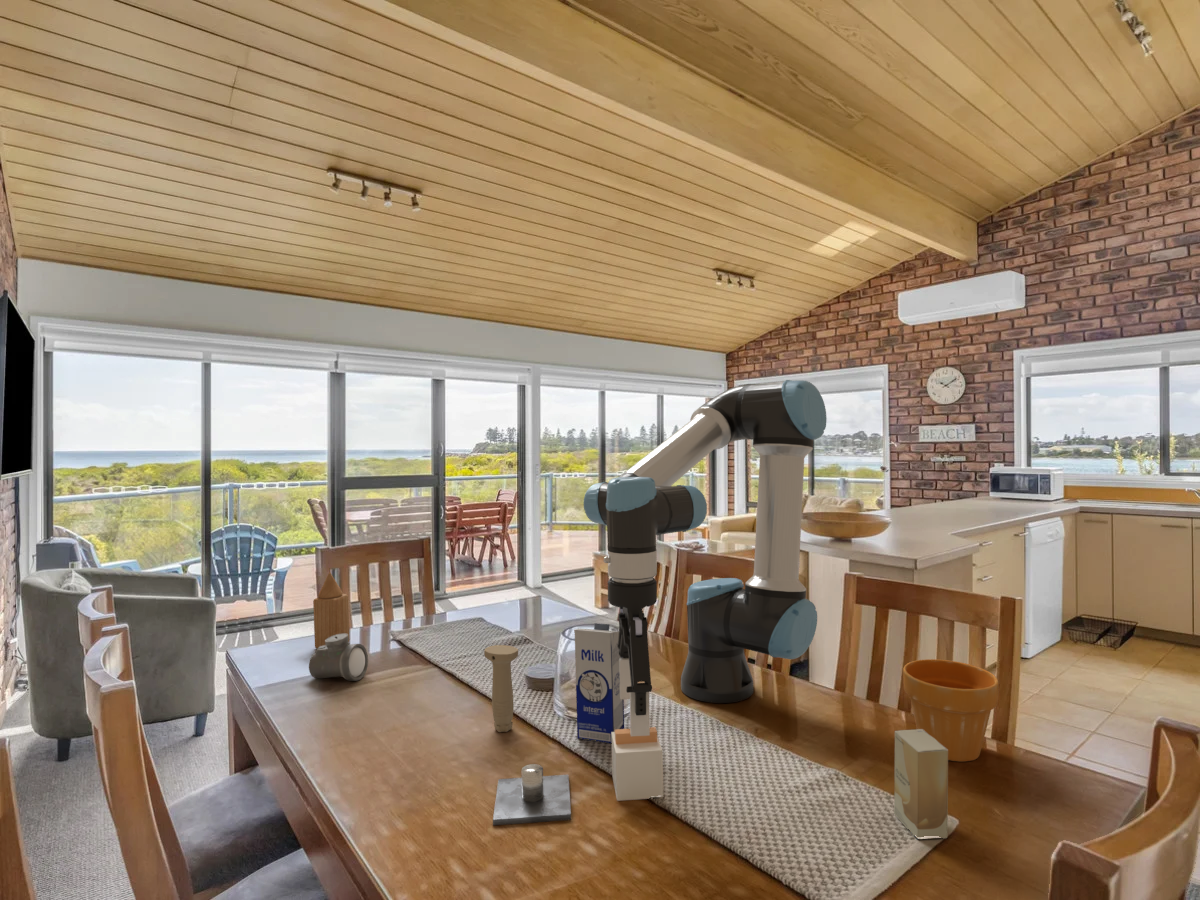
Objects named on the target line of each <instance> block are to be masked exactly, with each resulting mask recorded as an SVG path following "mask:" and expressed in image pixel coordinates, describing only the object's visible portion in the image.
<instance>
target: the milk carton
mask: <svg viewBox="0 0 1200 900" xmlns="http://www.w3.org/2000/svg"><path fill="white" fill-rule="evenodd" d="M593 625H594V626H593V629H592V628H575V629H573V630H574V657H575V658H574V659H575V661H574V662H575V699H576V701H575V702H576V732H577V734H576V736H577V737H576V738H577V739H578V738H582V739H581V740H584V739H589V740H588V741H591V740H596V741H595V742H598V741H599V742H598V743H605V742H606V744H611V743H612V741H611V732H615V729H625V705H624V704H625V702H624V700H625V699H620V666H619V658H622V657H620V655H619V649H618V637H619V630H618V631H616V630H610V625H611V624H609V623H606V624H605V623H598V622H595V623H594V624H593Z"/></svg>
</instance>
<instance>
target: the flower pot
mask: <svg viewBox="0 0 1200 900" xmlns="http://www.w3.org/2000/svg"><path fill="white" fill-rule="evenodd" d="M902 671H903V672H902V681H903V690H904V693H905V694H906V695H907V696H908V697H909V699H910V704H911V708H912V712H913V716H914V721H915V727H916V729H923V730H924V731H925V732H927V733H928V734H929V735H930V736H932V737H933V738H935V739H936V740H937V741H938V742H939V743H940V744H941V745H943V746H944V747H945V748H946V749H948V761H952V762H959V763H960V762H961V763H962V762H970V761H976V759H978V758H979V757H980V754H981V751H982V747H983V744H984V740H985V735H986V732H987V728H988V724H989V719H990V716H991V713H992V710H994V709H995V708H996V707H997V706H998V704H999V703H998V702H999V685H1000V683H999V679H998V677H997V676H995V675H994V674H993V673H992V672H990V671H988V670H986V669H984V668H982V667H979V666H975V665H974V664H969V663H964V662H961V661H955V660H948V659H947V660H946V659H938V658H937V659H933V658H932V659H918V660H913V661H910V662H908V663H906V664H905V665H904V666H903V668H902Z"/></svg>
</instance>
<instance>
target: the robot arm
mask: <svg viewBox="0 0 1200 900" xmlns="http://www.w3.org/2000/svg"><path fill="white" fill-rule="evenodd" d="M827 420H828V418H827V409H826V406H825V401H824V398H823V396H822V394H821V392H820V391H819V389H818V388H817V387H816V386H815V385H814V384H813V383H812V382H810V381H807V380H803V379H802V380H796V379H795V380H790V379H786V380H779V381H770V382H758V383H746V384H739V385H737V386H733V387H731V388H729V389H727V390H725V391H722V392H721V393H719V394H717V395H716V396H714V397H712V398H710V399H709V400H708V401H706V402H705V403H703V404H702V405H701V406H699V407H698V408H697V409H695V410H694V411H693V413H691V417H690V420H689V421H688V422H687V423H686V424H684V425H683V426H681V428H679V429H678V430H677V431H676V432H674V433H673V434H671V435H670V436H669V437H668V438H667V439H665V440H664V441H662V442H661V443H660V444H659V445H657V446H656V447H655V448H653V450H651V451H650V452H649V453H647V454H646V455H645V456H644V457H641V459H639V460H638V461H637V462H636V463H635V464H633V465H632V466H631V467H629V468H628V469H627V470H626V471H624V472H623V473H622V474H621V475H619V476H618V477H613V478H611V479H609V481H608V482H607V481H603V482H598V483H597V482H596V483H593V484H592V485H590V487H588V489H587V490H586V491H585V493H584V497H583V510H584V512H585V515H586V517H587V518H588V520H590V521H591V522H592V523H595V524H599V525H604V526H606V534H607V536H606V537H607V547H606V548H607V556H605V557H603V562H604V563H605V564H607V576H609V577H610V578H609V579H608V581H607V602H608V603H609V604H610V605H611V606H613V607H616V608H619V613H618V618H617V619H618V631H619V637H618V649H619V655H620V657H622V658H619V666H620V699H624V700H629V722H630V723H629V729H630V735H631V736H649V735H650V725H651V724H650V722H651V721H650V693H651V692H652V691H653V686H652V681H651V680H652V679H651V678H652V677H651V667H650V665H651V664H650V653H649V641H648V640H649V639H648V625H649V623H648V619H647V616H646V617H645V613H644V612H643V609H644V608H646V607H652V606H654V605H655V604H656V603H657V601H658V598H657V596H658V593H657V592H658V589H657V585H658V584H657V583H658V581H657V580H656V578H654V577H656V576H657V573H658V572H657V571H658V570H657V569H658V567H657V565H658V563H657V562H658V561H657V560H658V559H657V556H658V555H657V536H659V535H666V534H673V533H679V532H682V533H686V532H688V531H690V530H693V529H696V528H698V527H700V526H701V525H702V524H703V523H704V521H705V519H706V517H707V514H708V506H707V505H708V504H707V500H706V497H705V496H704V494H703V492H702V490H699V488H698V487H696V486H693V485H684V484H682V485H681V484H676V485H674V484H675V483H676V482H678V481H679V480H680V479H681V478H682V477H683V476H685V475H686V474H687V473H688V472H689V471H691V469H692V468H694V467H695V466H696V465H697V464H698V463H700V462H701V461H702V460H703V459H705V457H706V456H709V454H710V453H712V451H714V450H721V449H723V448H724V447H726V446H727V445H728V444H730V443H732V442H735V441H742V440H751V441H752V448H753V449H754V450H755V452H757V453H758V455H759V466H758V467H759V470H758V486H757V487H758V488H757V490H758V491H757V503H756V505H757V506H756V508H757V509H756V520H755V521H756V524H755V540H754V541H755V542H754V543H755V546H754V560H753V561H754V564H753V575H752V576H751V577H750V578H749V579H748V580H747V581H745V582H743V580H742V579H739V578H737V577H724V578H722V577H721V578H711V579H705V580H704V579H703V580H701V581H697V582H693V583H692V584H691V585H690V586H688V590H687V600H686V608H687V609H686V610H687V611H686V612H687V613H686V615H687V637H688V638H687V640H688V641H687V642H688V643H687V644H688V653H687V657H686V659H685V663H684V666H683V669H682V672H681V676H680V689H681V692H682V693H683V694H684V695H686V696H687V697H689V698H691V699H694V700H696V701H701V702H706V703H713V704H729V703H737V702H741V701H744V700H746V699H749V698H750V697H751V696H753V694H754V678H753V675H752V673H751V670H750V667H749V664H748V661H747V657H746V655H745V650H748V651H752V652H754V653H755V652H756V653H759V654H764V655H768V656H770V657H772V658H779V659H780V658H781V659H786V660H795V659H797V658H800V657H801V656H802V655H804V654H805V653H806V652H807V650H808V649H809V647H810V645H811V644H812V642H813V639H814V637H815V634H816V630H817V625H818V611H817V610H816V605H815V604H814V603H813V601H811V600H810V599H808V598H806V597H807V588H806V587H805V586H804V584H803V583H802V582H801V581H800V579H799V576H800V556H801V555H800V554H801V534H802V533H801V532H802V513H803V491H804V473H805V471H804V470H805V458H806V456H807V455H808V454H809V453H811V452H812V451H813V449H814V441H815V440H817V439H819V438H821V437H823V435H824V432H825V430H826V427H827ZM744 583H745V585H744ZM744 586H745V587H744Z"/></svg>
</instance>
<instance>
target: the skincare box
mask: <svg viewBox="0 0 1200 900" xmlns="http://www.w3.org/2000/svg"><path fill="white" fill-rule="evenodd" d="M948 789H949V760H948V749H946V748H945V747H944V746H943V745H941V744H940V743H939V742H938V741H937V740H936V739H935V738H933V737H932V736H930V735H929V734H928V733H927V732H925V731H924V730H923V729H917V728H916V729H899V730H894V795H893V796H894V805H893V806H894V809H893V810H894V813H893V814H894V815H895V817H897V819H898V820H899V821H900V822H901V824H902V825H904V827H905V828H906V829H907V830H908V829H909V830H910V831H911V832H912V833H913V834H914V835H916V836H917V837H924V836H939V837H941V838H943V839H947V838H948V819H949V818H948V808H949V807H948V803H949V802H948V800H949V798H948V797H949V795H948V794H949V793H948V792H949V791H948ZM909 830H908V831H909ZM910 831H909V832H910ZM911 832H910V833H911ZM912 833H911V834H912ZM913 834H912V835H913ZM914 835H913V836H914Z"/></svg>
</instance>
